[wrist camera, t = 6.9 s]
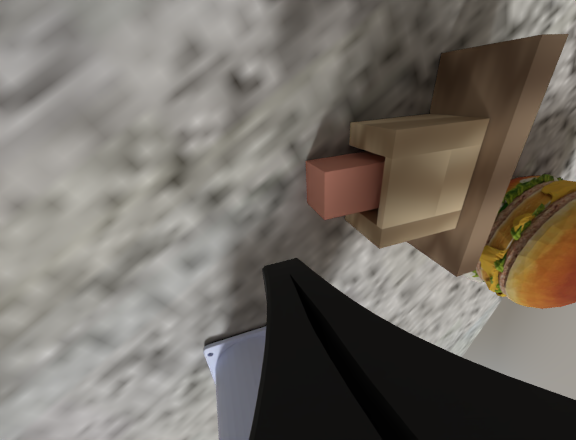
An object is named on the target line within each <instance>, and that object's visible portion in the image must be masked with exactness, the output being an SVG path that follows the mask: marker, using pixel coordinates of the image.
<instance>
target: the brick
mask: <svg viewBox="0 0 576 440" xmlns="http://www.w3.org/2000/svg"><path fill="white" fill-rule="evenodd" d="M384 164H385V157H384V156H381V155H378V154H375V153H372V152H369V151H364V152H358V153H352V154H346V155H339V156H333V157H327V158H321V159H314V160H308V161H306V182H307V203H308V204H309V205H310V206H311V207H312V208H313V209H314V210H315V211H316V212H317V213H318V214H319V215H320V216H321V217H322V218H323V219H324V220H327V219H332V218H336V217H340V216H345V215H349V214H354V213H358V212H362V211H367V210H371V209H376V208H379V203H380V195H381V187H382V180H383V172H384Z"/></svg>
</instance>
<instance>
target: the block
mask: <svg viewBox="0 0 576 440" xmlns="http://www.w3.org/2000/svg"><path fill="white" fill-rule="evenodd" d="M489 120H490V118H479V117H465V116H452V115H438V114H422V115H413V116H404V117H395V118H386V119H377V120H369V121H360V122H351V123H350V140H349V145H350V146H353V147H356V148H359V149H363V150H366V151H369V152H372V153H375V154H378V155H381V156H384V157H385V164H384V172H383V180H382V187H381V195H380V203H379V208H376V209H371V210H367V211H362V212H358V213H354V214H349V215H345V220H346V221H347V222H348V223H350V224H351V225H352V226H353V227H354V228H356V229H357V230H358V231H359V232H360V233H361V234H363V235H364V236H365V237H366V238H367V239H368V240H370V241H371V242H372V243H373V244H374V245H376V246H377V247H378V248H379V249H380V248H383V247H387V246H391V245H395V244H398V243H402V242H406V241H410V240H413V239H417V238H421V237H425V236H428V235H432V234H436V233H440V232H443V231H447V230H451V229H455V228H456V225H457V222H458V219H459V215H460V212H461V209H462V206H463V203H464V200H465V196H466V193H467V190H468V187H469V184H470V180H471V177H472V174H473V171H474V168H475V164H476V161H477V158H478V155H479V152H480V148H481V145H482V142H483V139H484V136H485V132H486V129H487V126H488V123H489Z"/></svg>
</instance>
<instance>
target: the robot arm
mask: <svg viewBox="0 0 576 440" xmlns="http://www.w3.org/2000/svg"><path fill="white" fill-rule="evenodd" d="M262 271H263V278H264V285H265V292H266V299H267V323H266V326H265V327H262V328H259V329H256V330H253V331H249V332H246V333H243V334H240V335H237V336H234V337H230V338H227V339H224V340H221V341H218V342H215V343H211V344H208V345H206V346H205V347H204V355H205V358H206V360H207V363H208V366H209V368H210V371H211V374H212V377H213V379H214V382H215V385H216V395H217V414H218V432H219V440H576V400H573V399H571V398H568V397H565V396H562V395H560V394H557V393H554V392H551V391H548V390H545V389H543V388H540V387H537V386H534V385H532V384H529V383H526V382H523V381H520V380H518V379H515V378H512V377H509V376H506V375H504V374H501V373H499V372H496V371H494V370H491V369H489V368H486V367H484V366H482V365H479V364H477V363H474V362H472V361H469V360H467V359H464V358H462V357H460V356H458V355H455V354H453V353H451V352H448V351H446V350H444V349H442V348H440V347H438V346H436V345H433V344H431V343H429V342H427V341H425V340H423V339H421V338H419V337H416V336H414V335H412V334H410V333H408V332H406V331H405V330H403V329H401V328H399V327H397V326H395V325H393V324H392V323H390V322H388V321H386V320H384V319H383V318H381V317H379V316H377V315H376V314H374V313H372V312H371V311H369V310H367V309H366V308H364V307H363V306H361V305H360V304H358V303H357V302H355V301H353V300H352V299H351V298H349V297H348V296H346V295H345V294H343V293H342V292H340V291H339V290H338V289H336V288H335V287H334V286H332V285H331V284H329V283H328V282H327V281H325V280H324V279H323V278H321V277H320V276H319V275H318V274H316V273H315V272H314V271H313V270H311V269H310V268H309V267H308V266H306V265H305V264H304V263H303V262H302V261H300V260H299V259H297V258H295V259H291V260H287V261H283V262H279V263H275V264H271V265H267V266H265V267H264V268H263V269H262Z"/></svg>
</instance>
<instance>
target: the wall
mask: <svg viewBox="0 0 576 440" xmlns="http://www.w3.org/2000/svg"><path fill="white" fill-rule="evenodd" d="M567 37H568V34H547V35H537V36H532V37H526V38H521V39H515V40H510V41H505V42H499V43H494V44H488V45H483V46H477V47H472V48H466V49H461V50H455V51H450V52H445V53H441V58H440V63H439V68H438V73H437V78H436V83H435V88H434V93H433V98H432V103H431V108H430V113H429V114H438V115H452V116H465V117H479V118H490V120H489V123H488V126H487V129H486V132H485V136H484V139H483V142H482V145H481V148H480V152H479V155H478V158H477V161H476V164H475V168H474V171H473V174H472V177H471V180H470V184H469V187H468V190H467V193H466V196H465V200H464V203H463V206H462V209H461V212H460V215H459V219H458V222H457V225H456V228H455V229H451V230H447V231H443V232H440V233H436V234H432V235H428V236H425V237H421V238H417V239H413V240H410V241H406V242H408V243H409V244H411V245H412V246H414V247H415V248H416V249H418V250H419V251H421V252H422V253H424V254H425V255H426V256H428V257H429V258H431V259H432V260H434V261H435V262H436V263H438V264H439V265H441V266H442V267H444V268H445V269H446V270H448V271H449V272H451V273H452V274H453V275H455V276H456V277H457V276H460V275H463V274H466V273H469V272H472V271H475V269H476V267H477V264H478V262H479V259H480V257H481V254H482V252H483V249H484V246H485V244H486V241H487V239H488V236H489V234H490V231H491V229H492V226H493V224H494V221H495V219H496V216H497V214H498V211H499V209H500V206H501V204H502V201H503V198H504V196H505V193H506V191H507V188H508V186H509V183H510V181H511V178H512V176H513V173H514V171H515V168H516V166H517V163H518V161H519V158H520V156H521V153H522V150H523V148H524V145H525V143H526V140H527V138H528V135H529V133H530V130H531V128H532V125H533V123H534V120H535V118H536V115H537V113H538V110H539V108H540V105H541V102H542V100H543V97H544V95H545V92H546V90H547V87H548V85H549V82H550V80H551V77H552V75H553V72H554V70H555V67H556V65H557V62H558V60H559V57H560V55H561V52H562V49H563V47H564V44H565V42H566V39H567Z"/></svg>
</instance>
